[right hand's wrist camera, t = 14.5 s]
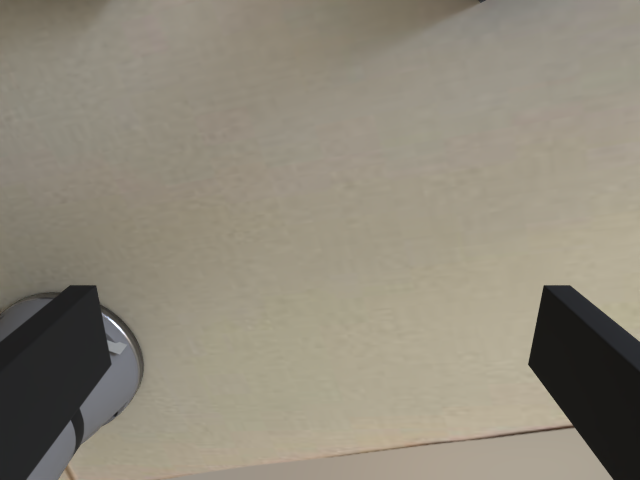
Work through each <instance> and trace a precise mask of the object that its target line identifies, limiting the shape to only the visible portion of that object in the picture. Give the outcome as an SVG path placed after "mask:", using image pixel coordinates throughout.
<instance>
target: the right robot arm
mask: <svg viewBox="0 0 640 480" xmlns="http://www.w3.org/2000/svg"><path fill="white" fill-rule="evenodd" d="M528 365H529V366H530V368H531V369H532V370H533V372H534V373H535V374H536V376H537V377H538V378H539V380H540V381H541V382H542V384H543V385H544V386H545V388H546V389H547V391H548V392H549V393H550V395H551V396H552V397H553V399H554V400H555V401H556V403H557V404H558V405H559V407H560V408H561V409H562V411H563V412H564V413H565V415H566V416H567V418H568V419H569V420H570V422H571V423H572V424H573V426H574V427H575V428H576V430H577V431H578V432H579V434H580V435H581V436H582V438H583V439H584V440H585V442H586V443H587V445H588V446H589V447H590V448H591V450H592V451H593V453H594V454H595V455H596V457H597V458H598V459H599V461H600V462H601V463H602V465H603V466H604V467H605V469H606V470H607V472H608V473H609V474H610V475H611V477H612V478H613V480H640V342H639V341H638V340H637V339H636V338H634V337H633V336H632V335H631V334H629V333H628V332H627V331H626V330H624V329H623V328H622V327H621V326H619V325H618V324H617V323H616V322H615V321H613V320H612V319H611V318H610V317H608V316H607V315H606V314H605V313H603V312H602V311H601V310H600V309H598V308H597V307H596V306H595V305H593V304H592V303H591V302H590V301H589V300H587V299H586V298H585V297H584V296H582V295H581V294H580V293H579V292H577V291H576V290H575V289H574V288H572V287H571V286H570V285H544V287H543V292H542V297H541V302H540V307H539V312H538V317H537V322H536V328H535V333H534V338H533V343H532V348H531V353H530V358H529V363H528ZM142 377H143V357H142V353H141V350H140V347H139V344H138V342H137V340H136V338H135V337H134V335H133V333H132V332H131V331H130V329H129V328H128V327H127V326H126V324H125V323H124V322H123V321H122V320H121V319H120V318H119V317H117V316H116V315H115V314H114V313H113V312H111V311H110V310H108V309H107V308H105V307H103V306H102V305H100V302H99V297H98V292H97V287H96V285H70V286H69V287H68V288H66V289H65V290H64V291H63V292H61V293H54V292H53V293H41V294H36V295H32V296H29V297H26V298H24V299H22V300H20V301H18V302H16V303H15V304H13V305H12V306H10V307H9V308H8V309H6V310H5V311H4V312H2V313H1V314H0V480H58V479H59V477H60V476H61V474H62V472H63V471H64V469H65V468H66V466H67V465H68V463H69V461H70V460H71V458H72V457H73V455H74V454H75V452H76V451H77V449H78V448H79V446H80V445H81V444H82V443H83V442H85V441H86V440H87V439H89V438H90V437H91V436H92V435H93V434H94V433H95V432H96V431H97V430H98V429H99V428H100V427H101V426H103V425H105V424H107V423H109V422H110V421H112V420H113V419H114V418H115V417H117V416H118V415H119V414H120V413H121V412H122V411H123V410H124V409H125V408H126V406H127V405H128V404H129V403H130V401H131V400H132V398H133V397H134V395H135V393H136V392H137V390H138V388H139V386H140V384H141V381H142Z"/></svg>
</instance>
